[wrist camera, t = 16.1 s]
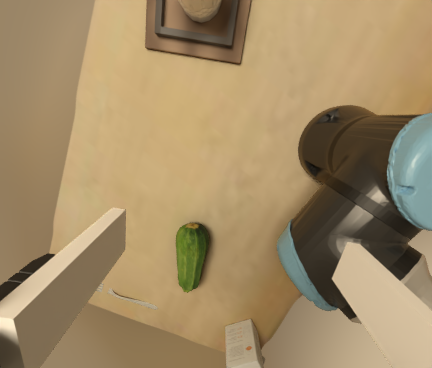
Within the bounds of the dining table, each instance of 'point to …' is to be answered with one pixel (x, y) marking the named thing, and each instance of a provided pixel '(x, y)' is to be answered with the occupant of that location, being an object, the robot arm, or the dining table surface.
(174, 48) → the dock board
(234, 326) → the small box
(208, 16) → the white cup
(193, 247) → the vegetable
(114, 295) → the fork
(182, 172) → the dining table surface
